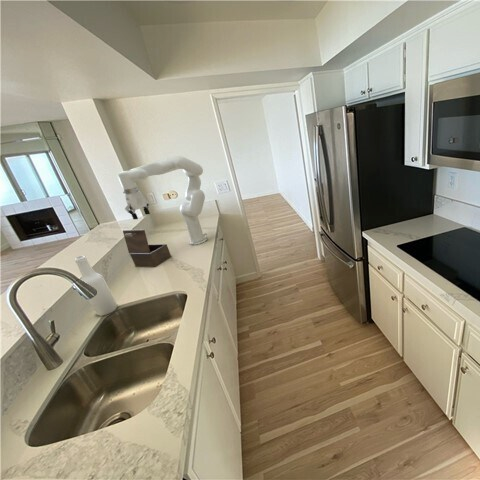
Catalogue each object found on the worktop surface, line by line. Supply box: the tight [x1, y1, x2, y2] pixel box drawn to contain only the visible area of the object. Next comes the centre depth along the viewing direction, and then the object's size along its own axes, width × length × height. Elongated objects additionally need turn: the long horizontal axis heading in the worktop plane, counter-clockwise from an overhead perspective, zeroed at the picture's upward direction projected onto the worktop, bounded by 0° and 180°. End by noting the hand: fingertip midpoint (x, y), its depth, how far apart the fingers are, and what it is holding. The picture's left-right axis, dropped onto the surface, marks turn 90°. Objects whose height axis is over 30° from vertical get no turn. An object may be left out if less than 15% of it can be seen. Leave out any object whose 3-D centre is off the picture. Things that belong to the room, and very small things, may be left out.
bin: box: [129, 243, 172, 268], centre depth 181 cm, size 15×17×10 cm
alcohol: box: [74, 255, 118, 317], centre depth 126 cm, size 9×9×30 cm
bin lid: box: [122, 229, 150, 254], centre depth 168 cm, size 15×17×5 cm
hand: (142, 216), depth 174 cm, fingers open, 9 cm apart
